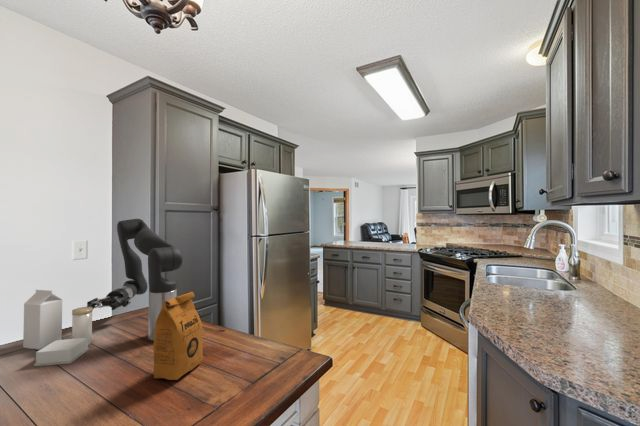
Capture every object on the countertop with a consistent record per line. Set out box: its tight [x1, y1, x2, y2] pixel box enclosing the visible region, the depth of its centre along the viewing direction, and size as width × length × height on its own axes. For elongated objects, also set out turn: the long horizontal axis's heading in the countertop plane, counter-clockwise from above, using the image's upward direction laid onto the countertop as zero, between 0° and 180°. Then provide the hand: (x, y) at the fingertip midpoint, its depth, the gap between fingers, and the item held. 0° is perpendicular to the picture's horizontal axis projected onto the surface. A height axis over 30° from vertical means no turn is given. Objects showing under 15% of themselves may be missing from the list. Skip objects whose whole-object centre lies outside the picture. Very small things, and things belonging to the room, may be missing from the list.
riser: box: [33, 338, 90, 367], centre depth 93 cm, size 10×10×4 cm
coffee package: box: [152, 291, 204, 381], centre depth 85 cm, size 10×12×22 cm
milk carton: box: [22, 289, 63, 350], centre depth 102 cm, size 7×7×19 cm
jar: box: [71, 306, 94, 346], centre depth 103 cm, size 6×6×12 cm
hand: (100, 308), depth 115 cm, fingers open, 8 cm apart
